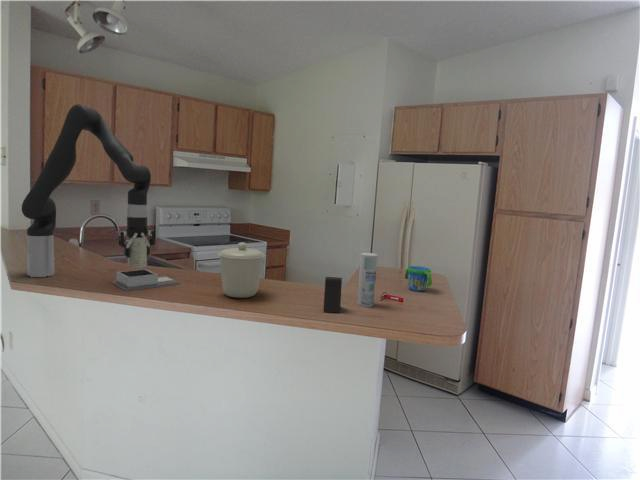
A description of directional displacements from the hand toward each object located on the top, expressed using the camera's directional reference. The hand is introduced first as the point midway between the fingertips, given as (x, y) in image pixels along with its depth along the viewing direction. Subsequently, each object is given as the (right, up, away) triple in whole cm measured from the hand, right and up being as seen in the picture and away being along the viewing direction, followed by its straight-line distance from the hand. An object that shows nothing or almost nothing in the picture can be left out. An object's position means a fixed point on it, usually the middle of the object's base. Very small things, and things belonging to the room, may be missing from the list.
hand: (137, 256), depth 172 cm
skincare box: (0, -5, +1) cm, 5 cm away
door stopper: (+78, -19, -15) cm, 82 cm away
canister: (+42, -15, -3) cm, 45 cm away
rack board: (+2, -12, +4) cm, 13 cm away
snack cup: (+119, -17, +24) cm, 122 cm away
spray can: (+92, -19, -6) cm, 94 cm away
